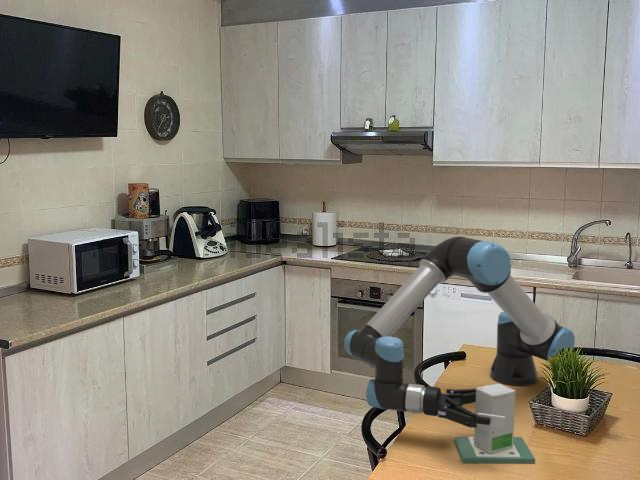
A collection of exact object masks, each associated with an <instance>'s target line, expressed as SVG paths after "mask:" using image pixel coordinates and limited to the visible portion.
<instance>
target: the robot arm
mask: <svg viewBox="0 0 640 480" xmlns="http://www.w3.org/2000/svg"><path fill="white" fill-rule="evenodd" d="M511 260H512V259H511V257H510V254H509V253H508V251H507V250H506V248H504V247H503V246H502V245H501V244H498V243H495V242H493V241H488V240H481V239H475V238H470V237H466V236H453V237H449V238H447V239H445V240H443V241H441V242H440V243H438V244H436V246H435V247H433V248H432V249H431V250H429V251H428V252H427V253H426V254H425V255H424V256H423V257H422V258H421V259H420V261H419V267H418V268H417V269H416V270H415V271H414V272H413V273H412V274H411V275H410V277H409V278H407V280H406V281H404V283H403V284H402V285H401V286H400V287H399V288H398V289H397V290H396V292H394V293H393V295H392V296H391V297H390V298H389V299H388V300H387V301H386V302H385V304H384V305H382V307H381V308H380V309H379V310H378V311H377V312H376V313H375V315H374V316H372V318H371V319H370V320H369V321H368V322H367V323H366V324H365V326H363V327H362V328H361V329H354V330H352V331H349V332H348V334H346V336H345V338H344V341H343V345H344V349H345V351H346V353H347V354H349V355H350V356H352V358H355V359H356V360H359V361H361V362H363V363H364V364H367V365H369V366H370V367H371V368H374V370H375V372H374V373H375V374H374V378H372V379H370V380H369V381H368V382H367V385H366V392H365V398H366V399H365V400H366V403H367V405H368V406H370V407H372V408H378V409H381V410H389V411H397V412H398V411H399V412H404V413H411V414H412V415H415V414H418V415H419V414H420V415H421V414H424V415H425V416H432V417H438V418H441V419H446V420H449V421H451V422H454V423H457V424H460V425H462V426H465V427H466V428H470V429H472V428H474V429H475V428H476V427H477V424H480V425H487V426H494V427H501V428H504V426H505V416H498V415H491V414H484V413H478V416H477V415H476V414H475V412H473V411H470V410H469V409H467V408H465V407H464V405H468V404H476V388H462V389H461V388H460V389H452V388H451V389H450V388H447V389H446V393H442V390H441V388H440V387H438V386H431V385H430V386H429V385H427V386H425V385H423V384H418V383H417V384H416V383H415V384H414V383H408V382H407V383H406V382H404V358H405V353H404V343H403V340H401V338H398V337H396V336H395V337H394V336H392V335H394V334H395V332H396V331H397V330H398V329H399V328H400V327H401V326H402V325H403V324H404V322H405V321H406V320H407V319H408V318H409V317H410V316H411V315H412V313H414V311H416V309H418V307H419V306H420V305H421V304H422V302H424V301H425V299H426V298H427V297H428V296H429V294H430V293H432V291H433V290H434V289H435V288H436V287H437V286H438V285H439V284H445V282H446V281H447V280H448V279H449V278H451V277H454V276H457V277H460V278H463V279H466V280H468V281H470V283H471V284H472V285H473V287H474V288H475V289H477V291H479V292H480V293H484V294H488V296H490V298H491V299H492V300H493V301H494V302H495V303H496V305H498V307H499V308H500V309H501V310H502V311H501V312H500V313H499V314H498V320H497V323H496V324H497V327H496V328H497V330H496V332H497V333H496V355H495V358H494V359H493V362H492V365H491V367H490V378H491V379H493V380H494V381H496V382H499V383H500V384H505V385H510V386H529V385H532V384H535V383H536V382H537V381H538V371H537V369H536V364H535V361H534V358H533V357H536V358H538V359H540V360H544V361H546V362H548V358H549V357H553V356H554V355H555V354H556V353H557V351H558V350H559V349H561V350H562V349H563V348H565V347H566V348H573V349H574V347H575V343H576V341H575V334H574V331H572V330H571V329H570V328H568V327H564V326H562V325H560V324H558V322H557V321H556V320H555V319H554V317H553V316H552V315H550V314H548V313H545V312H542V311H541V310H540V308H539V307H538V306H537V304H535V302H534V301H533V300H532V298H530V296H529V295H528V294H527V292H526V291H525V290H524V289H523V288H522V287H521V286H520V284H519V283H518V282H517V281H516V279H515V277H513V276H512V275H511V274H512V263H511Z"/></svg>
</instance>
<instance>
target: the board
mask: <svg viewBox="0 0 640 480" xmlns="http://www.w3.org/2000/svg"><path fill="white" fill-rule="evenodd" d="M453 442H454V443H455V446H456V449H457V452H458V455H459V457H460V460H461V463H462V464H536V458H535V456H534V454H533V453H532V451H531V449H530V448H529V446H528V445H527V443H526V441H525V439H524V438H523V437H522V436H513V448H509V449H506V450H502V451H498V452H494V453H491V454H489V453H487V452H486V451H484V450H482V449H481V448H479V447H477V446H476V445H474V435H473V436H472V435H471V436H470V435H469V436H454V439H453Z"/></svg>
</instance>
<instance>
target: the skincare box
mask: <svg viewBox="0 0 640 480" xmlns="http://www.w3.org/2000/svg"><path fill="white" fill-rule="evenodd" d="M475 389H476V402H475V407H474V408H475V411H474V413H475V414H476V415H477V416H478V413H484V414H491V415H498V416H505V426H504V428H501V427H494V426H487V425H480V424H477V427H476V428H474V433H473V434H474V435H473V436H474V445H476V446H477V447H479V448H481V449H482V450H484V451H486V452H487V453H489V454H491V453H494V452H498V451H502V450H506V449H509V448H513V437H514V429H515V428H514V427H515V409H516V390H515V389H513V388H510V387H508V386H505V385H503V384H502V383H495V384H486V385H485V386H478V387H476V388H475Z"/></svg>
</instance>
